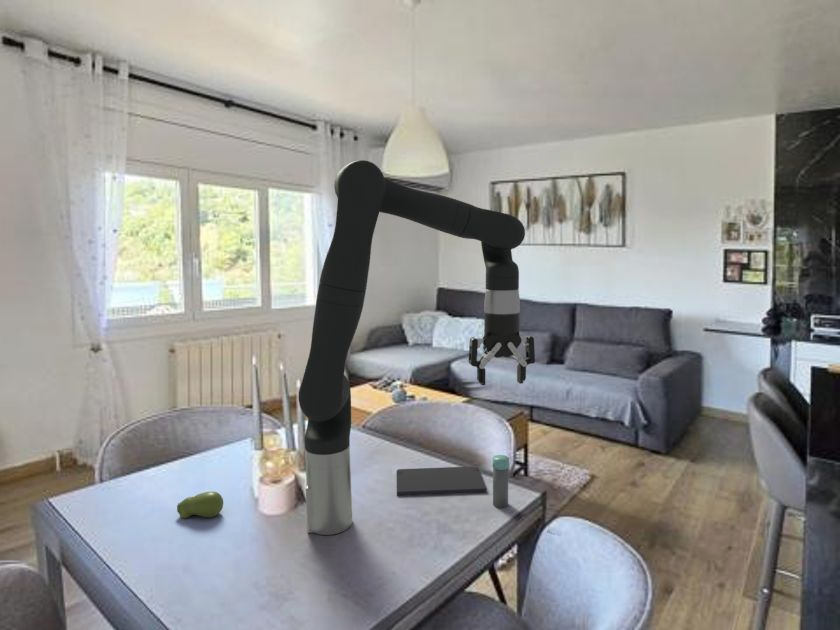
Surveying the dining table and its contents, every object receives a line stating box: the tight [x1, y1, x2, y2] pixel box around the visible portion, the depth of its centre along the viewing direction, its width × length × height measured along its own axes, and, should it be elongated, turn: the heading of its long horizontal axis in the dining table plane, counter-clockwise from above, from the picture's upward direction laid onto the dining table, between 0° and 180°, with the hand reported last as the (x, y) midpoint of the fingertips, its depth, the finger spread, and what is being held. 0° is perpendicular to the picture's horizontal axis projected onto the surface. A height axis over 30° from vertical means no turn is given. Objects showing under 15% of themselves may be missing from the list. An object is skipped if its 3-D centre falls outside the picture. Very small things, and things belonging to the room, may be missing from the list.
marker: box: [492, 454, 510, 509], centre depth 118 cm, size 4×4×11 cm
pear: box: [176, 491, 224, 519], centre depth 116 cm, size 6×5×10 cm
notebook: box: [395, 465, 487, 497], centre depth 130 cm, size 13×2×21 cm
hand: (501, 383), depth 115 cm, fingers open, 8 cm apart
